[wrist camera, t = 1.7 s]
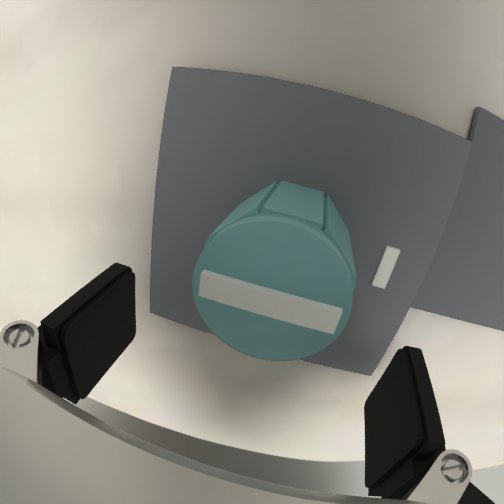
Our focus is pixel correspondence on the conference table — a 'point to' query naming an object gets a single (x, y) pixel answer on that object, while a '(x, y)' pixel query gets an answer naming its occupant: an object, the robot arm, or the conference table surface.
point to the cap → (277, 274)
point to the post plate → (309, 175)
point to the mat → (472, 237)
